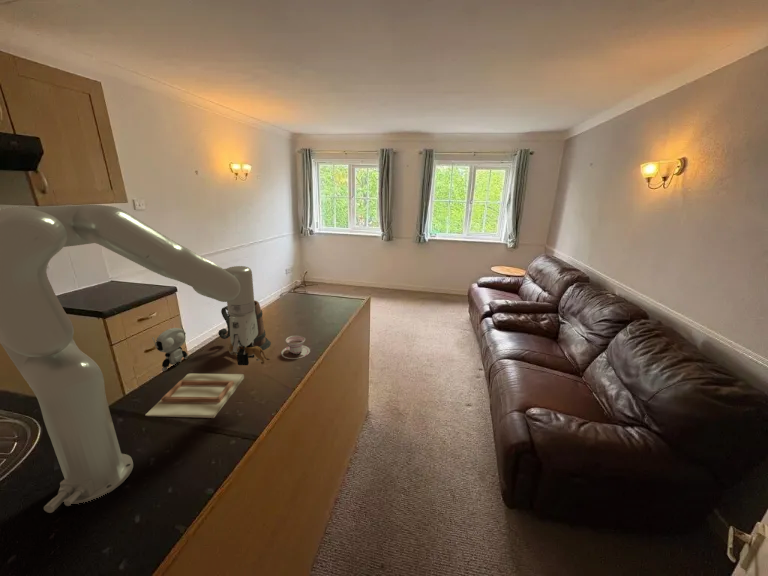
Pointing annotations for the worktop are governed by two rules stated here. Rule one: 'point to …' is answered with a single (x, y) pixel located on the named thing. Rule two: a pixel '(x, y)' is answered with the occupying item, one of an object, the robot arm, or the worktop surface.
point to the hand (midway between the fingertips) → (246, 360)
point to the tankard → (260, 338)
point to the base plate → (197, 396)
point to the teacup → (296, 346)
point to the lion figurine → (251, 352)
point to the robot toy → (171, 346)
